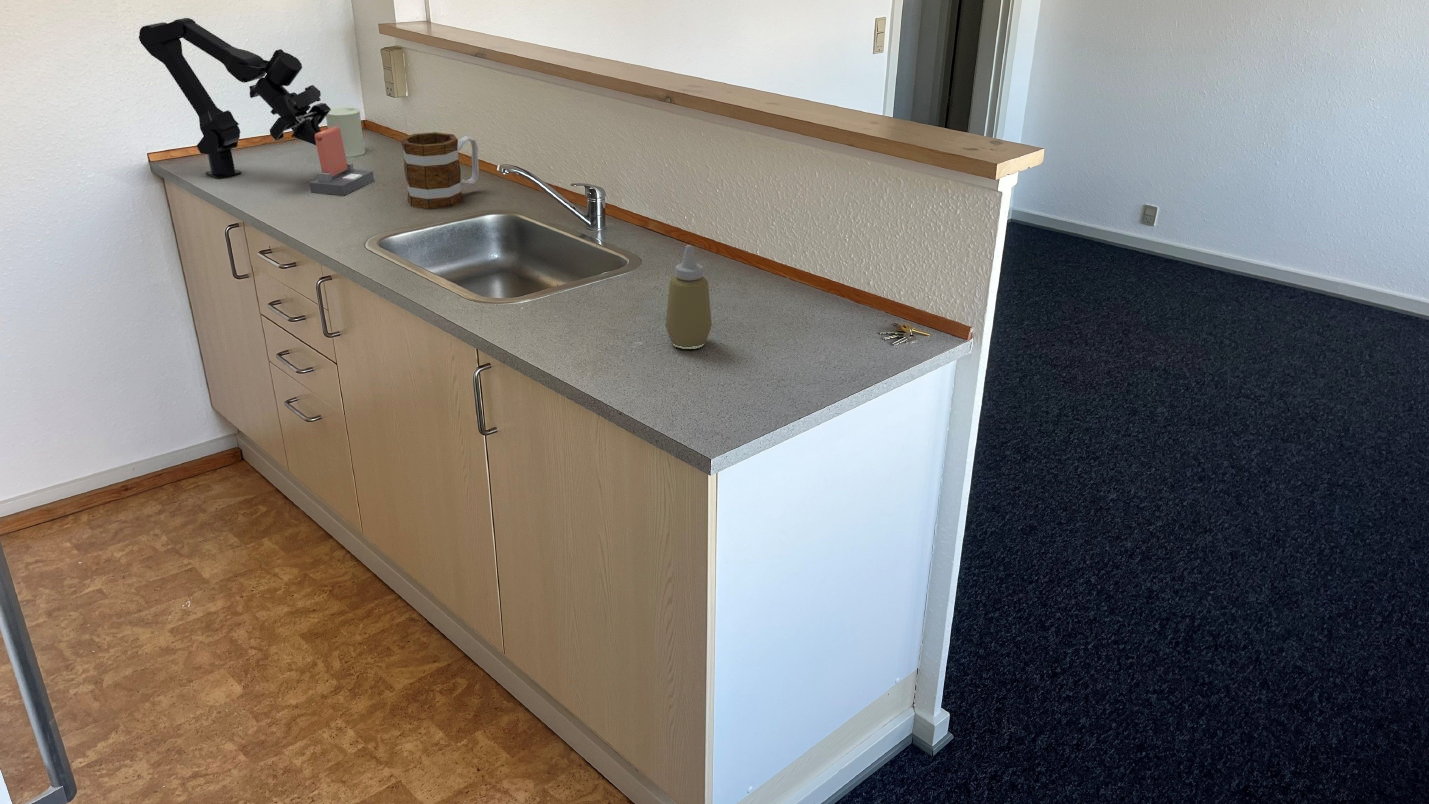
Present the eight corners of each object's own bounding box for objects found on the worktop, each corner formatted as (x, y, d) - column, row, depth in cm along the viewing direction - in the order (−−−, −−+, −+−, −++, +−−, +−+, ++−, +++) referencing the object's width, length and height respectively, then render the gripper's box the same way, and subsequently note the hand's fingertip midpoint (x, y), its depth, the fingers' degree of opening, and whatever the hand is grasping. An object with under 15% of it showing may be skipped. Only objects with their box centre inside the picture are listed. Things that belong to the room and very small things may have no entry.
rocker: (323, 177, 261) (313, 133, 256) (341, 168, 267) (332, 125, 263) (330, 177, 260) (320, 133, 255) (348, 169, 267) (339, 125, 262)
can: (372, 152, 295) (367, 108, 289) (346, 159, 288) (339, 114, 282) (350, 147, 299) (344, 104, 294) (323, 153, 292) (316, 110, 287)
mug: (426, 213, 248) (419, 149, 241) (396, 200, 256) (388, 138, 249) (496, 196, 260) (491, 135, 253) (465, 185, 268) (460, 125, 261)
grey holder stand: (311, 192, 260) (308, 174, 258) (342, 177, 272) (340, 160, 270) (343, 195, 258) (341, 177, 256) (374, 180, 270) (371, 163, 268)
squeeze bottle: (664, 335, 188) (664, 238, 180) (709, 334, 189) (711, 238, 180) (666, 354, 181) (666, 254, 173) (713, 353, 182) (715, 254, 173)
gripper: (271, 83, 247) (321, 134, 249) (317, 69, 263) (363, 117, 265) (248, 115, 252) (297, 164, 255) (295, 99, 268) (340, 146, 271)
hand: (326, 147), depth 261 cm, fingers closed, pressing on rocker
